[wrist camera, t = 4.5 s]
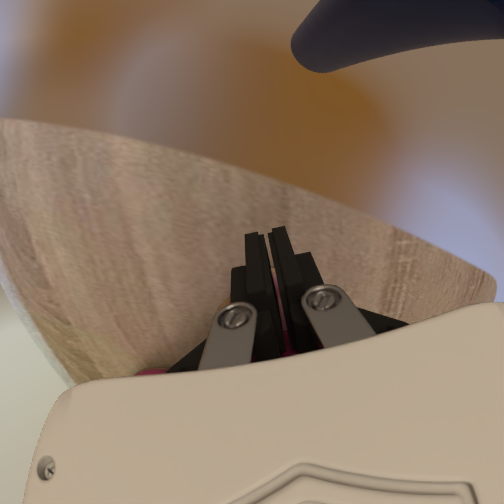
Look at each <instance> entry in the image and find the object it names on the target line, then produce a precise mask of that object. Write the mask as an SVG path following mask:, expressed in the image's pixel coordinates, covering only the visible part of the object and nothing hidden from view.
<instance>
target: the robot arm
mask: <svg viewBox="0 0 504 504" xmlns="http://www.w3.org/2000/svg"><path fill="white" fill-rule="evenodd" d="M268 238H269V243H270V248H271V253H272V258H273V263H274V268H275V273H276V278H277V283H278V288H279V293H280V298H281V303H282V307H283V312H284V317H285V322H286V327H287V332H288V337H289V342H290V347H291V351H292V350H297V353H298V354H297V355H292V356H287V357H282V356H281V353H282V352H286V345H285V340H284V334H283V328H282V322H281V317H280V311H279V305H278V300H277V294H276V289H275V284H274V280H273V275H272V271H271V266H270V261H269V257H268V252H267V248H266V243H265V239H264V235H263V234H261V235H258V232H254V233H249V234H245V258H246V265H245V266H240V267H235V268H232V270H231V294H230V304H228V305H225V306H224V307H222V308H221V309H219V310H218V311H217V313H216V314H215V316H214V318H213V321H212V324H211V327H210V330H209V334H208V337H207V339H206V340H204V341H203V342H202V343H201V344H200V345H198V346H197V347H196V348H195V349H193V350H192V351H191V352H190V353H189V354H187V355H186V356H185V357H184V358H182V359H181V360H180V361H179V362H177V363H176V364H175V365H174V366H172V367H171V368H170V369H169V370H168V371H167V372H166V373H165V374H151V375H136V376H123V377H110V378H102V379H97V380H92V381H88V382H85V383H82V384H79V385H77V386H74V387H72V388H70V389H68V390H67V391H65V392H64V393H62V394H61V395H60V396H59V398H58V399H57V400H56V402H55V404H54V405H53V407H52V409H51V411H50V413H49V415H48V417H47V420H46V422H45V424H44V427H43V429H42V432H41V434H40V438H39V440H38V443H37V446H36V449H35V452H34V456H33V459H32V463H31V467H30V471H29V475H28V480H27V484H26V489H25V493H24V499H23V504H504V303H501V302H484V303H478V304H472V305H468V306H464V307H460V308H457V309H454V310H451V311H448V312H445V313H442V314H439V315H436V316H433V317H430V318H427V319H425V320H422V321H419V322H416V323H413V324H408V323H406V322H403V321H400V320H396V319H393V318H390V317H387V316H383V315H380V314H377V313H374V312H370V311H367V310H364V309H361V308H358V307H356V306H355V305H354V303H353V302H352V301H351V299H350V298H349V297H348V296H347V294H346V293H345V292H344V291H343V290H342V289H341V288H340V287H337V286H335V285H330V284H324V283H323V280H322V278H321V275H320V273H319V271H318V269H317V266H316V264H315V262H314V259H313V257H312V255H311V253H310V252H306V253H302V254H297V255H295V254H294V251H293V249H292V246H291V243H290V240H289V237H288V234H287V231H286V228H285V226H282V227H278V228H273V229H272V232H271V233H268Z"/></svg>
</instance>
